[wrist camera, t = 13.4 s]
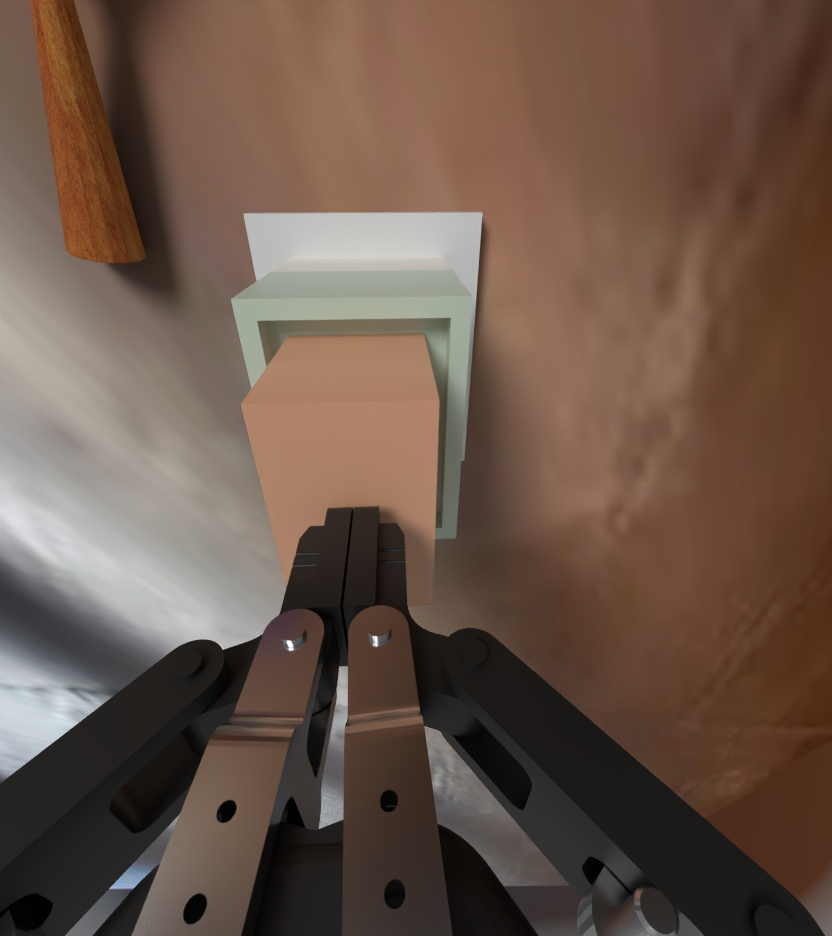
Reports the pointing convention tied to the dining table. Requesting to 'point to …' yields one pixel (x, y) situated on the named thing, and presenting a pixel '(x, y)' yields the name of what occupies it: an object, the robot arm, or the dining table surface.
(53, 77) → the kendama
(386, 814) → the robot arm
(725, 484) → the dining table surface
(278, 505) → the brick
